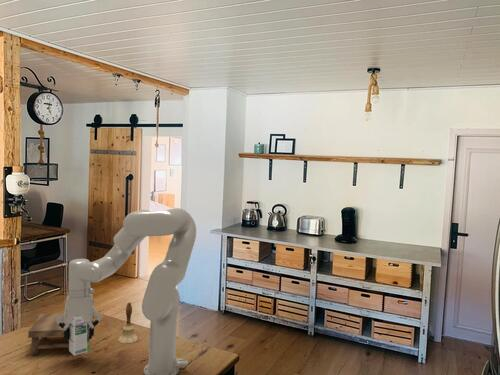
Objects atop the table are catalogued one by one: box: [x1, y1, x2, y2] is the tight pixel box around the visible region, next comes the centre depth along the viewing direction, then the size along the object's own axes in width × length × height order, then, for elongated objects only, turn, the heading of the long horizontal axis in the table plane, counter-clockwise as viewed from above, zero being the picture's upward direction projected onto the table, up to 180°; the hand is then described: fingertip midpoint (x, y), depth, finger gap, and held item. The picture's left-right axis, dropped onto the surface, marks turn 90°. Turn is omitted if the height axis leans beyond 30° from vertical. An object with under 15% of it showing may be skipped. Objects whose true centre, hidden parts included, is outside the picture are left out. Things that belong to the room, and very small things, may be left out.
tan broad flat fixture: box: [27, 312, 69, 357], centre depth 161 cm, size 18×18×10 cm
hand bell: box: [117, 302, 139, 345], centre depth 169 cm, size 8×8×16 cm
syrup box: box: [68, 316, 91, 357], centre depth 149 cm, size 6×6×14 cm
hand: (79, 338), depth 149 cm, fingers closed on syrup box, 7 cm apart
